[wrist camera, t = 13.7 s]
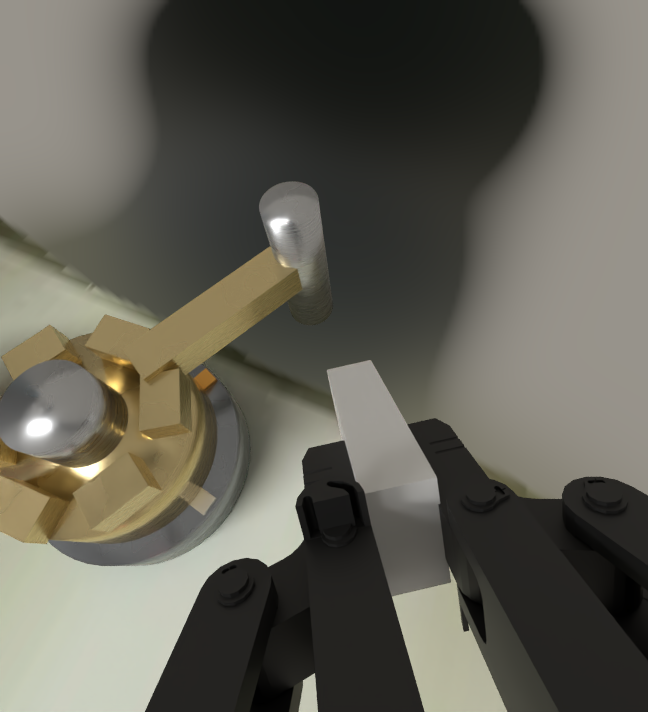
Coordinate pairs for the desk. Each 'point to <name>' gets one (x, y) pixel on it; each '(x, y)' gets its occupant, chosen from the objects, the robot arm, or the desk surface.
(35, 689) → the desk surface
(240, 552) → the desk surface
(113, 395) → the geared crank handle
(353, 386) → the robot arm
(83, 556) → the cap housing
